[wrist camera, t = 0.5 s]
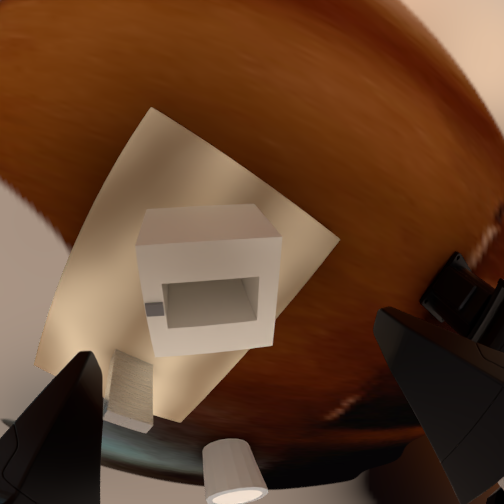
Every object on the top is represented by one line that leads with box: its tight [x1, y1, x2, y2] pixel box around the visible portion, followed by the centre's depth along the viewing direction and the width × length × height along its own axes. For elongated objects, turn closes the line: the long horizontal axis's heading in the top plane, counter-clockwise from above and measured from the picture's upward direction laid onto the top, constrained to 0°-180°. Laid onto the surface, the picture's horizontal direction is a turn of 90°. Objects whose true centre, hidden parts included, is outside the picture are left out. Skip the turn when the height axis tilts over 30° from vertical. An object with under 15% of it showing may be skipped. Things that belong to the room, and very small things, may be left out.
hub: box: [135, 204, 282, 357], centre depth 15 cm, size 6×6×5 cm
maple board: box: [34, 107, 340, 422], centre depth 19 cm, size 14×21×2 cm, turn 143°
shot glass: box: [202, 439, 268, 504], centre depth 27 cm, size 7×7×7 cm
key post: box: [103, 349, 153, 433], centre depth 17 cm, size 3×1×6 cm, turn 53°
